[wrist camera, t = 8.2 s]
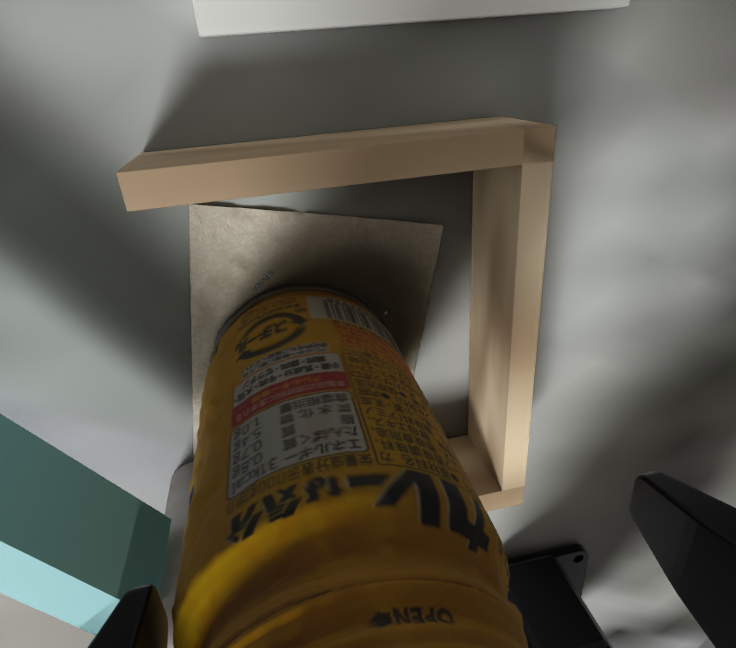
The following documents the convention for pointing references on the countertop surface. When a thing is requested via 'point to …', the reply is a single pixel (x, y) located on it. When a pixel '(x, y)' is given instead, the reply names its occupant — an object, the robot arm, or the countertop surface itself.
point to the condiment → (325, 448)
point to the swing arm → (71, 533)
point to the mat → (363, 13)
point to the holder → (488, 261)
